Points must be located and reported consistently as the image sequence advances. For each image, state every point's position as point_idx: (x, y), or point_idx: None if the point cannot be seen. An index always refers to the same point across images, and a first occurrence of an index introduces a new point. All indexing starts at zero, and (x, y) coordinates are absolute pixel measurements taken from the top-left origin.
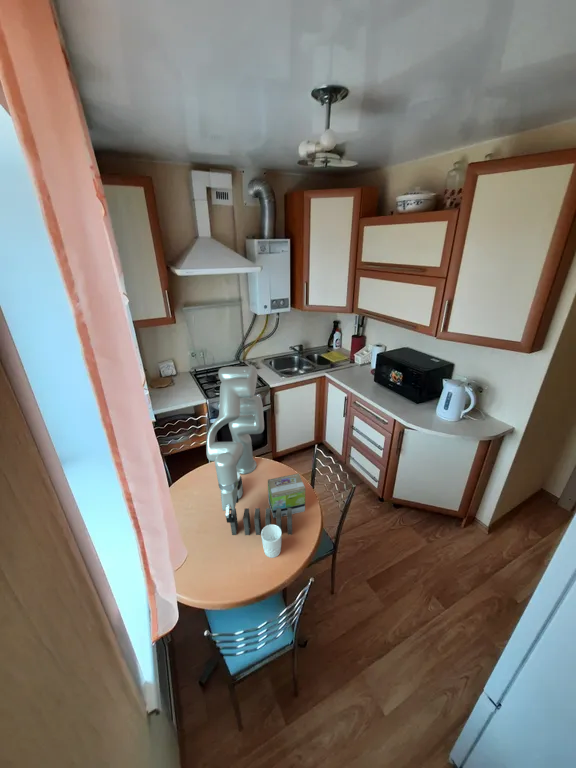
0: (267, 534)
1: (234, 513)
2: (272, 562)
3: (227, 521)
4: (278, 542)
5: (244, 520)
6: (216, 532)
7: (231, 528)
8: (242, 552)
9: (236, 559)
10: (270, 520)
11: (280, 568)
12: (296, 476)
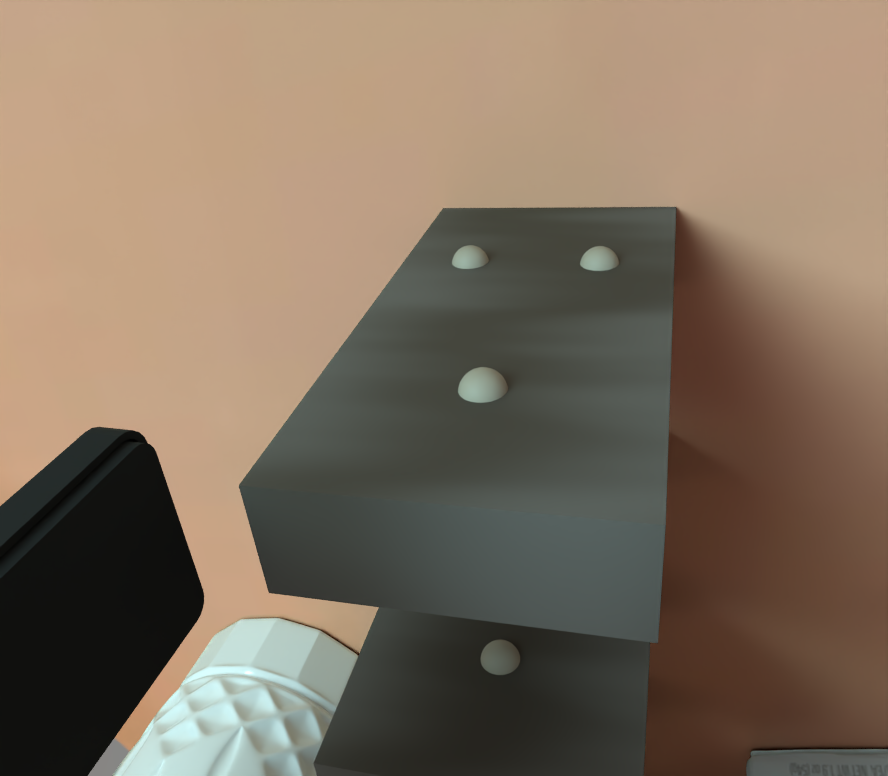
0: None
1: (438, 609)
2: (172, 665)
3: (77, 464)
4: None
5: (345, 716)
6: None
7: (391, 291)
8: (191, 397)
9: (81, 332)
10: None
11: (140, 710)
12: None
